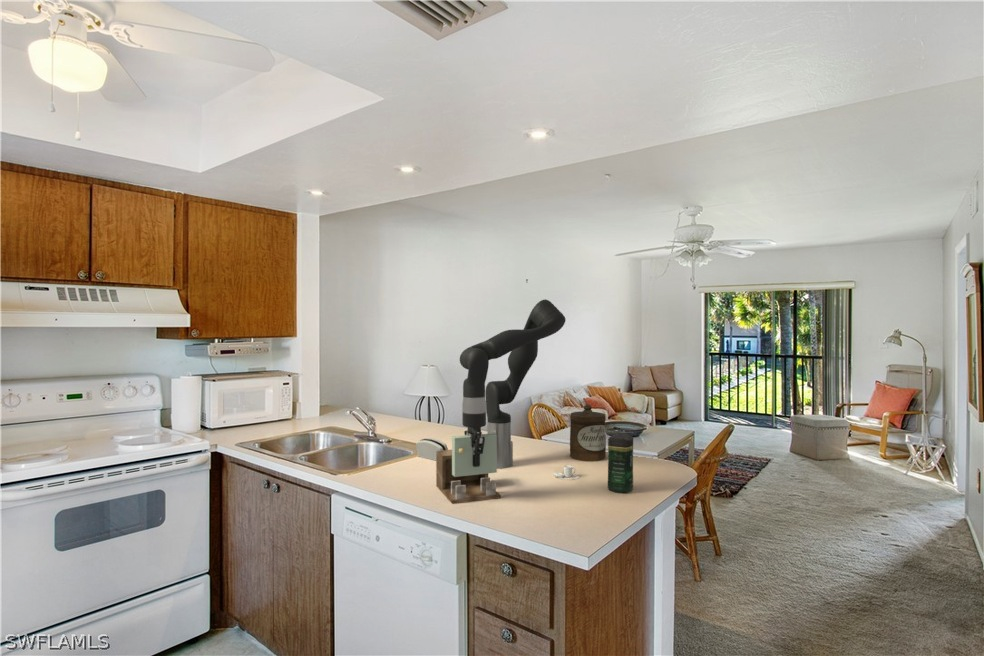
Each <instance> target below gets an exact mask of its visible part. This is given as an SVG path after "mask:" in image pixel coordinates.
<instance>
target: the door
mask: <svg viewBox="0 0 984 656" xmlns="http://www.w3.org/2000/svg"><path fill="white" fill-rule="evenodd" d="M482 437H485V442H484V448H483V454H480V466H479V467H474V466H473V454H472V447H471V438H470V437H469V436H467V435H465V434H464V435H455V436H454V435H453V436H451V450H452V475H453V476H454V477H459V476H468V475H478V474H487V473H488V474H496V473H497V472H498V470H497V469H498V468H497V435H496V434H494V433H491V434H488V433H482ZM474 445H475V444H474ZM477 450H478V449H477Z"/></svg>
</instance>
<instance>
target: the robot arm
mask: <svg viewBox="0 0 984 656" xmlns="http://www.w3.org/2000/svg"><path fill="white" fill-rule="evenodd" d="M565 324H566V317H565V315H564V314H563V313H562V312H561V311H560V310H559V308H558V307H557V306H555V305H554V304H553V303H552V302H551V301H550V300H549V299H546V298H545V299H541V300H540V301H538V302H537V303H536V304H535V305H534V307H533V308H532V310H531V312H530V313H529V315H528V317H527V319H526V323H525V324H524V328H523V329H506V330H503V331H501V332H499V333H497V334H496V335H493V336H492V337H490V338H488V339H486V340H484V341H482V342H479V343H476V344H473V345H471V346H469V347H466V348H465V349H464V350H463V351H462V352H461V354H460V355H459V364H460V365H461V366H462V368H464V369H466V370H468V371H467V377H466V378H465V379H464V381H463V384H462V397H463V398H462V405H461V406H462V409H461V410H462V414H461V415H462V418H461V419H462V426H463V427H465V428H467V430H464V436H465V435H467V436H469V437H470V438H471V447H472V454H473V466H474V467H479V466H480V454H483V448H484V442H485V437H482V434H483V432H482V427H485V426H486V425H487V434H491V433H494V434H496V435H497V469H504V468H505V469H506V468H509V467H513V466H514V462H513V461H514V457H513V456H514V455H513V454H514V453H513V452H514V449H513V447H514V443H513V441H512V432H511V431H512V426H511V425H512V416H511V414H510V413H508V412H504V411H502V410H501V407H500V405H507V404H511V403H512V402H513V401H514V399H515V398H516V396H517V394H518V393H519V389H520V387H521V385H522V383H523V381H524V379H525V377H526V376H527V374H528V373H529V371H530V369H531V368H532V366H533V365H534V363H535V362H536V359H537V358H538V353H539V352H538V351H539V343H538V341H539V340H542V339H544V338H548V337H550V336H552V335H554V334H556V333H557V332H559V331H560V330H562V328H563V327H564V325H565ZM508 353H509V355H508V357H507V366H508V370H509V375H508V377H507V378H506V379H505V380H495V381H493V380H492V381H489V382H487V384H486V381H487V377H488V370H489V365H490V364H489V361H491V360H496V359H499V358H501V357H503V356H505V355H507V354H508ZM474 444H475V445H474ZM477 449H478V450H477Z"/></svg>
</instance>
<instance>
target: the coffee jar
mask: <svg viewBox="0 0 984 656" xmlns="http://www.w3.org/2000/svg"><path fill="white" fill-rule="evenodd" d="M607 453H608V454H607V455H608V457H607V459H608V461H607V489H608V490H609V491H612V492H614V493H618V494H619V493H629V492H631V491H632V490H633V488H634V437H633V436H632V435H631V434H630V433H627V432H626V433H625V432H617V433H615V434H612V435H611V436H609V437H608V439H607Z"/></svg>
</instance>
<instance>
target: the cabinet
mask: <svg viewBox="0 0 984 656" xmlns="http://www.w3.org/2000/svg"><path fill="white" fill-rule="evenodd" d="M435 462H436V463H435V465H436V469H435V473H436V474H435V475H436V477H435V478H436V485H435V486H436V487H437V489H438V490H439V491H440V492H441V493H442V494H443V495H444V496H445V497H446V499H447V500H448V501H449V502H450V503H451V504H461V503H469V502H470V503H471V502H476V501H477V502H478V501H487V500H495V499H501V498H502V497H501V494H500V493H499V492H498V491H497V482H496V481H491V477H490V476H489V473H487V474H478V475H468V476H459V477H454V476H453V475H452V449H448V450H441V451H436V461H435Z"/></svg>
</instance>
